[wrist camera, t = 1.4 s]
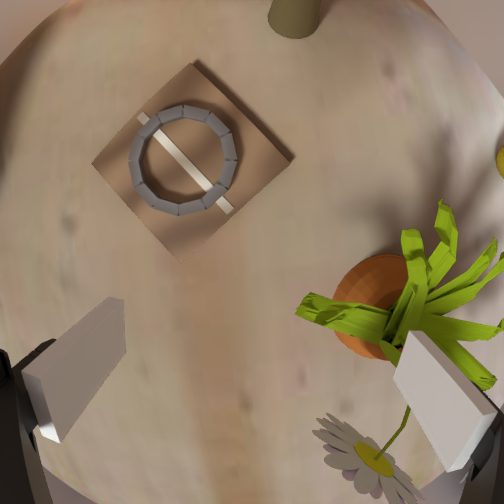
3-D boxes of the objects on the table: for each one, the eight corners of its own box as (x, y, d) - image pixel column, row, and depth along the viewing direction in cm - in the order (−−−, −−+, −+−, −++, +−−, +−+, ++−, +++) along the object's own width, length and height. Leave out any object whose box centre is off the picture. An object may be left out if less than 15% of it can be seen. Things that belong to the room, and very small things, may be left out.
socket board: (96, 163, 34) (85, 163, 31) (192, 66, 31) (187, 58, 29) (183, 261, 36) (178, 267, 33) (289, 164, 33) (291, 163, 31)
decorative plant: (247, 320, 37) (232, 503, 13) (373, 155, 33) (545, 129, 8) (392, 409, 40) (455, 537, 16) (495, 284, 36) (617, 357, 11)
